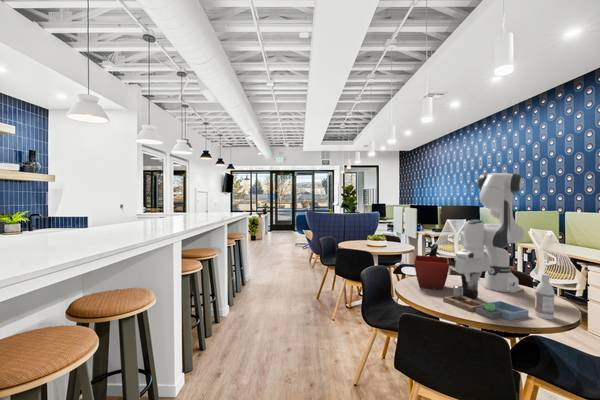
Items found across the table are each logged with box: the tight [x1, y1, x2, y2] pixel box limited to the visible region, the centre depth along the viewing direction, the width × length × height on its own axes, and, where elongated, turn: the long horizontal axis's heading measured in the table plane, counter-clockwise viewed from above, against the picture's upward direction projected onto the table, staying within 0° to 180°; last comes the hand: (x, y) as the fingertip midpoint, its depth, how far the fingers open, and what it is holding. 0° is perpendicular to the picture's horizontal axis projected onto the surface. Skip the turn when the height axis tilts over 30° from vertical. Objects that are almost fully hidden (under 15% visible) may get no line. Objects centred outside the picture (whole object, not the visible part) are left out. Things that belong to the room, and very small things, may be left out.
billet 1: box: [452, 285, 463, 301], centre depth 163 cm, size 4×4×8 cm
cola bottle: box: [460, 273, 479, 300], centre depth 172 cm, size 8×8×30 cm
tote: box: [482, 300, 529, 321], centre depth 149 cm, size 13×13×4 cm
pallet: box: [442, 295, 485, 313], centre depth 160 cm, size 12×16×2 cm
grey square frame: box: [475, 306, 502, 320], centre depth 146 cm, size 8×8×3 cm
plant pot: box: [413, 254, 450, 291], centre depth 193 cm, size 19×19×17 cm
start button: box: [484, 302, 495, 312], centre depth 146 cm, size 4×4×4 cm
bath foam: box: [534, 273, 555, 320], centre depth 146 cm, size 7×7×20 cm
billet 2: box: [467, 272, 479, 291], centre depth 156 cm, size 4×4×8 cm
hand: (472, 281), depth 156 cm, fingers closed on billet 2, 4 cm apart
